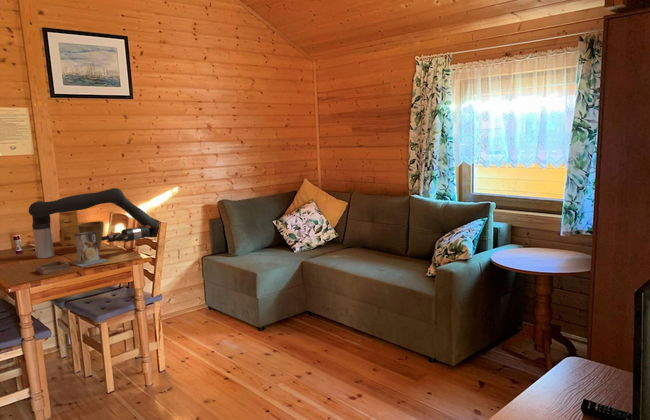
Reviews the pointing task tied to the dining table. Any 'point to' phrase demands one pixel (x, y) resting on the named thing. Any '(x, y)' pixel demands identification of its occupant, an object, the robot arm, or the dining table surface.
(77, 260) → the rubber mat
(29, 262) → the dining table surface
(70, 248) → the dining table surface
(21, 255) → the dining table surface
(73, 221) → the coffee package
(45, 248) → the robot arm
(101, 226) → the plant pot
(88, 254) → the coffee box
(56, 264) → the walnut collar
